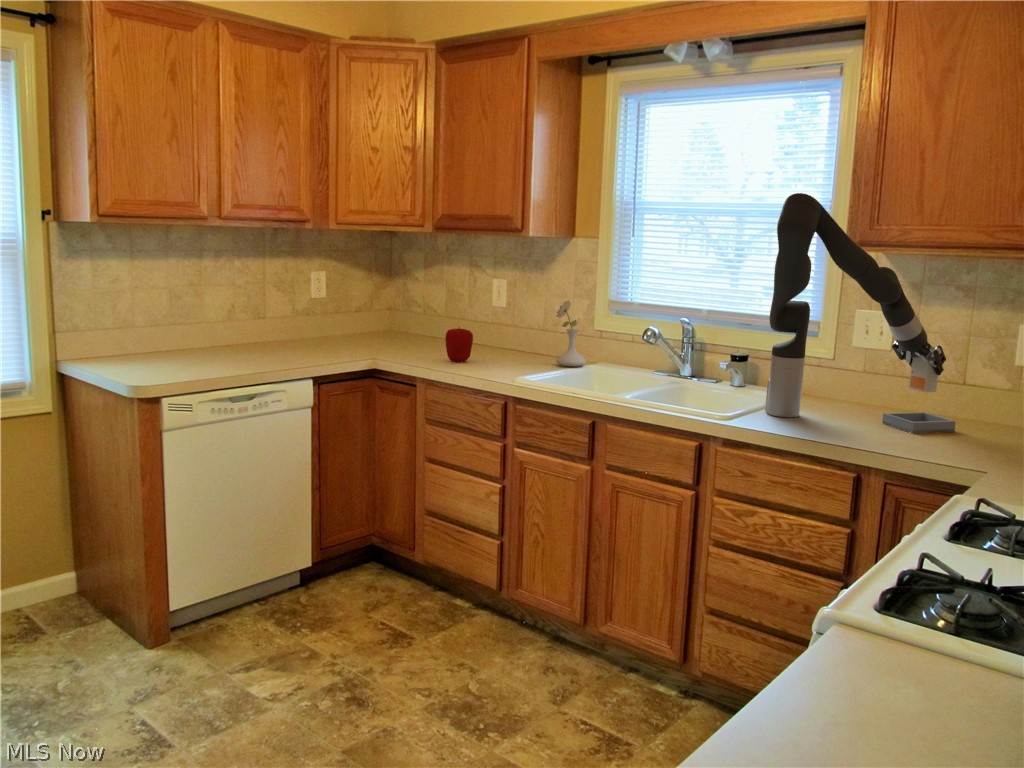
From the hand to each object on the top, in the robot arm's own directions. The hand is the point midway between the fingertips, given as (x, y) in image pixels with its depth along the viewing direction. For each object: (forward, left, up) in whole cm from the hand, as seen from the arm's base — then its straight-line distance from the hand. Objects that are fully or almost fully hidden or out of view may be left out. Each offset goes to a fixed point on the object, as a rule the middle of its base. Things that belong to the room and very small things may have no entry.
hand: (928, 370), depth 243 cm
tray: (0, -1, -16) cm, 16 cm away
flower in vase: (-111, -64, -16) cm, 129 cm away
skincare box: (0, -2, -6) cm, 6 cm away
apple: (-124, -104, -16) cm, 163 cm away
